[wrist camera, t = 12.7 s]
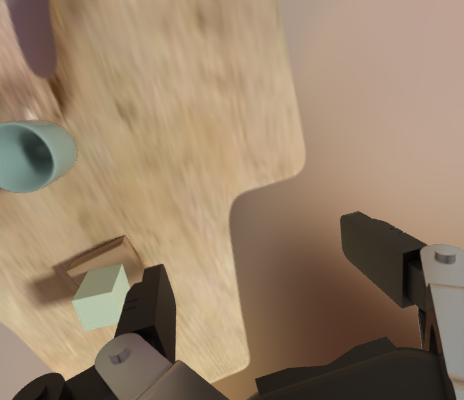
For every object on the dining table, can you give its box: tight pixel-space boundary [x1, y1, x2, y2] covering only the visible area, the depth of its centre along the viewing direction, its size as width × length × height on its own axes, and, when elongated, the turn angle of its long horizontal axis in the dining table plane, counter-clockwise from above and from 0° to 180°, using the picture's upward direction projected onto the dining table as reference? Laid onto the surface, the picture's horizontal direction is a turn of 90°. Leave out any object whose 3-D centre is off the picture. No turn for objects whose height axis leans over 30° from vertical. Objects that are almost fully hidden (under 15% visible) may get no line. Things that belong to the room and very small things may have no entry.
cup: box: [0, 120, 78, 193], centre depth 35 cm, size 8×8×10 cm
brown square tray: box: [66, 235, 147, 288], centre depth 45 cm, size 9×9×4 cm
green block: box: [72, 264, 130, 331], centre depth 40 cm, size 5×5×7 cm
